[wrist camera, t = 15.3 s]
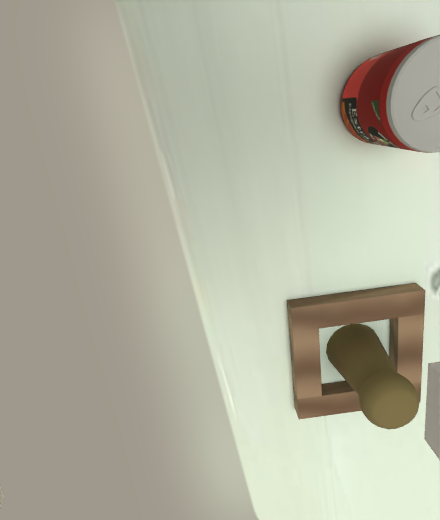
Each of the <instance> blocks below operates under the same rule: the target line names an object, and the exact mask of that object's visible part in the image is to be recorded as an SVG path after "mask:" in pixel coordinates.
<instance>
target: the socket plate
mask: <svg viewBox="0 0 440 520" xmlns="http://www.w3.org/2000/svg"><path fill="white" fill-rule="evenodd" d="M287 307H288V321H289V334H290V348H291V361H292V375H293V388H294V402H295V409H296V412H297V415H298V418H299V419H304V418H312V417H319V416H326V415H333V414H340V413H347V412H355V411H362V410H361V406H360V403H359V395H358V394H357V393H356V391H355V390H354V389H353V388H352V387H351V386H350V384H349V383H348V382H347V381H342V382H335V383H328V384H321V367H320V346H319V328H326V327H333V326H341V325H348V324H355V323H363V322H370V321H377V320H385V319H390V352H389V359H390V360H391V362H392V364H393V366H394V368H395V370H396V372H397V373H399V374H400V375H402V376H404V377H405V378H407V379H408V380H409V381H410V382H411V383H412V384H413V386H414V387H415V389H416V390H417V393H418V397H419V402H420V397H421V374H422V352H423V330H424V308H425V290H424V289H423V288H422V287H420V286H419V285H418V284H416V283H412V284H404V285H397V286H389V287H382V288H375V289H367V290H360V291H352V292H345V293H338V294H330V295H323V296H315V297H308V298H300V299H293V300H287Z"/></svg>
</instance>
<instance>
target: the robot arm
mask: <svg viewBox="0 0 440 520" xmlns="http://www.w3.org/2000/svg"><path fill="white" fill-rule="evenodd" d="M425 440H426V442H427V443H428V444H429V446H430V447H431V449H432V450H433V451H434V453H435V454H436V456H437V457H438V458H439V460H440V362H435V363H428V380H427V400H426V419H425ZM4 499H5V496H4V494H3V491H2V488H1V486H0V508H1V505H2V503H3V501H4Z"/></svg>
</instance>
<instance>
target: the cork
mask: <svg viewBox="0 0 440 520" xmlns="http://www.w3.org/2000/svg"><path fill="white" fill-rule="evenodd" d="M326 353H327V356H328V359H329V361H330V362H331V363H332V365H333V366H334V367H335V368H336V369H337V370H338V372H339V373H340V374H341V375H342V376H343V377H344V379H345V380H346V381H347V382H348V383H349V384H350V386H351V387H352V388H353V389H354V390H355V391H356V393H357V394H358V395H359V403H360V406H361V410H362V412H363V413H364V415H365V416H366V417H367V419H368V420H369V421H370V422H371V423H373V424H375V425H376V426H378V427H381V428H386V429H396V428H399V427H403V426H404V425H406V424H408V423H409V422H410V421H411V420H412V419H413V418H414V417H415V415H416V414H417V412H418V407H419V397H418V393H417V390H416V389H415V387H414V386H413V384H412V383H411V382H410V381H409V380H408V379H407V378H405V377H404V376H402V375H400V374H399V373H397V372H396V370H395V368H394V366H393V364H392V362H391V360H390V359H389V357H388V355H387V353H386V351H385V349H384V347H383V345H382V343H381V342H380V340H379V338H378V336H377V334H376V333H375V332H374V330H373V329H371V328H370V327H368V326H366V325H362V324H350V325H347V326H344V327H342V328H340V329H339V330H337V331H336V332H335V333H334V334H333V335H332V336H331V337H330V339H329V342H328V344H327V351H326Z"/></svg>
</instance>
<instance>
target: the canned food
mask: <svg viewBox="0 0 440 520" xmlns="http://www.w3.org/2000/svg"><path fill="white" fill-rule="evenodd" d="M341 111H342V116H343V120H344V122H345V124H346V126H347V128H348V130H349V131H350V132H351V133H352V134H353V135H354V136H355V137H357V138H358V139H359V140H362V141H364V142H366V143H372V144H377V145H383V146H389V147H394V148H400V149H406V150H412V151H417V152H425V153H432V152H440V35H437V36H434V37H430V38H427V39H424V40H421V41H418V42H415V43H412V44H409V45H406V46H403V47H400V48H397V49H394V50H391V51H388V52H385V53H382V54H379V55H377V56H374V57H372V58H370V59H368V60H367V61H365V62H364V63H363V64H361V65H360V66H359V67H358V68H357V69H356V70H355V71H354V73H353V74H352V76H351V77H350V78H349V80H348V82H347V84H346V86H345V88H344V92H343V95H342V101H341Z"/></svg>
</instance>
